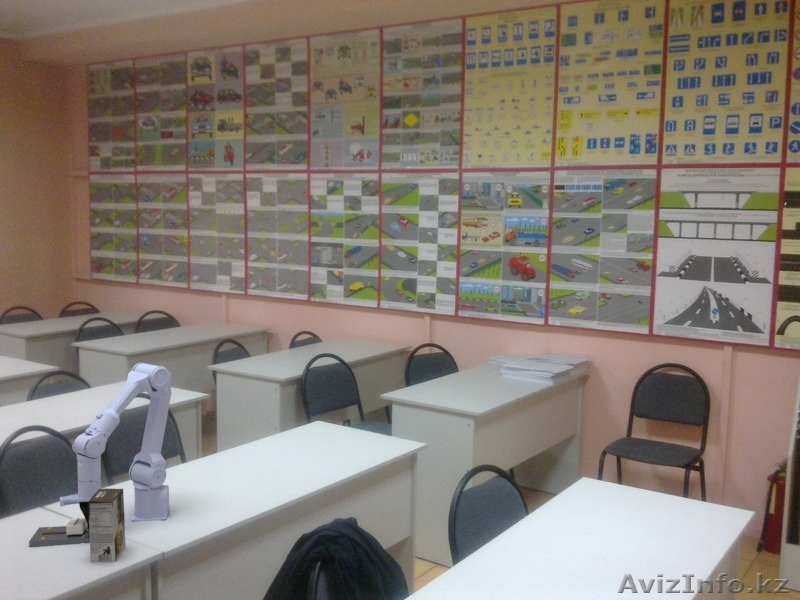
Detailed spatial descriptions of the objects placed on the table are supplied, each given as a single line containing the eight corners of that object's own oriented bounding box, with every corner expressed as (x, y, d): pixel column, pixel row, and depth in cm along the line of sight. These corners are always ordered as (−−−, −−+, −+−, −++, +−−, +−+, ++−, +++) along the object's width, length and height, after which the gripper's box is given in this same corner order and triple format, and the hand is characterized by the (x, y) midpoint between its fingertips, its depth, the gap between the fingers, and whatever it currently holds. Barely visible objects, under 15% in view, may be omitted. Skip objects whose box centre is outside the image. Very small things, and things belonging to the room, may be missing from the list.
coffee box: (100, 549, 195) (98, 488, 194) (126, 548, 196) (124, 487, 195) (89, 564, 186) (86, 500, 185) (116, 563, 187) (114, 499, 186)
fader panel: (101, 529, 207) (101, 524, 207) (94, 543, 199) (94, 537, 198) (39, 532, 205) (39, 527, 204) (29, 546, 196) (29, 540, 196)
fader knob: (86, 526, 205) (86, 517, 204) (82, 533, 200) (82, 524, 200) (71, 527, 204) (70, 518, 204) (66, 534, 199) (66, 525, 199)
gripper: (117, 470, 208) (117, 518, 209) (59, 477, 202) (60, 526, 203) (119, 478, 201) (120, 528, 203) (59, 485, 195) (61, 536, 197)
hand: (90, 528), depth 202 cm, fingers closed
